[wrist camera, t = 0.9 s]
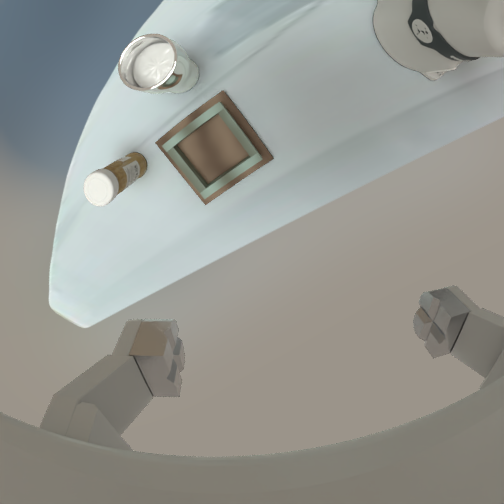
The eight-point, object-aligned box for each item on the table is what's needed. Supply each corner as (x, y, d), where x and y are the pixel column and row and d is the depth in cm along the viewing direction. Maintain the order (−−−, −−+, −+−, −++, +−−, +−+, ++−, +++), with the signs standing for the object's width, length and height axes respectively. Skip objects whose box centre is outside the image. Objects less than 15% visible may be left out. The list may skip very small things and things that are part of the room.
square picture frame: (223, 90, 36) (221, 89, 33) (273, 157, 42) (275, 161, 39) (157, 141, 40) (150, 145, 37) (206, 203, 45) (203, 210, 42)
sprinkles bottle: (127, 148, 40) (86, 167, 28) (151, 157, 41) (117, 179, 29) (119, 173, 42) (79, 199, 30) (142, 182, 43) (107, 212, 31)
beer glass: (162, 53, 33) (123, 32, 19) (206, 56, 33) (186, 32, 20) (153, 94, 36) (111, 91, 23) (197, 98, 37) (171, 94, 24)
